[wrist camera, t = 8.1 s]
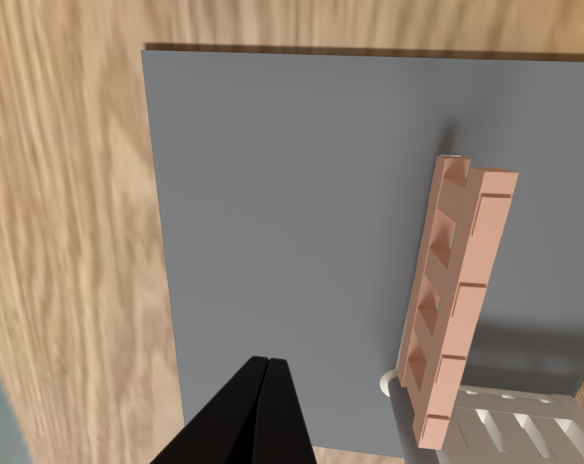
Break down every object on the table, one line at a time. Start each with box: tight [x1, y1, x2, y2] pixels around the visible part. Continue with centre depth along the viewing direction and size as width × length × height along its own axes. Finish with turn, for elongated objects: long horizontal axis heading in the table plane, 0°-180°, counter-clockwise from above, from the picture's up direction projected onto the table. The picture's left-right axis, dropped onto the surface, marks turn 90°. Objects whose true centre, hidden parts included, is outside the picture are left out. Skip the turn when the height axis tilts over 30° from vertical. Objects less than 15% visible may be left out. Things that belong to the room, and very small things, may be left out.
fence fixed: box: [436, 390, 584, 464], centre depth 14 cm, size 8×1×5 cm, turn 87°
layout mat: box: [141, 50, 584, 463], centre depth 16 cm, size 22×22×1 cm
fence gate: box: [388, 156, 519, 464], centre depth 13 cm, size 13×1×4 cm, turn 179°
